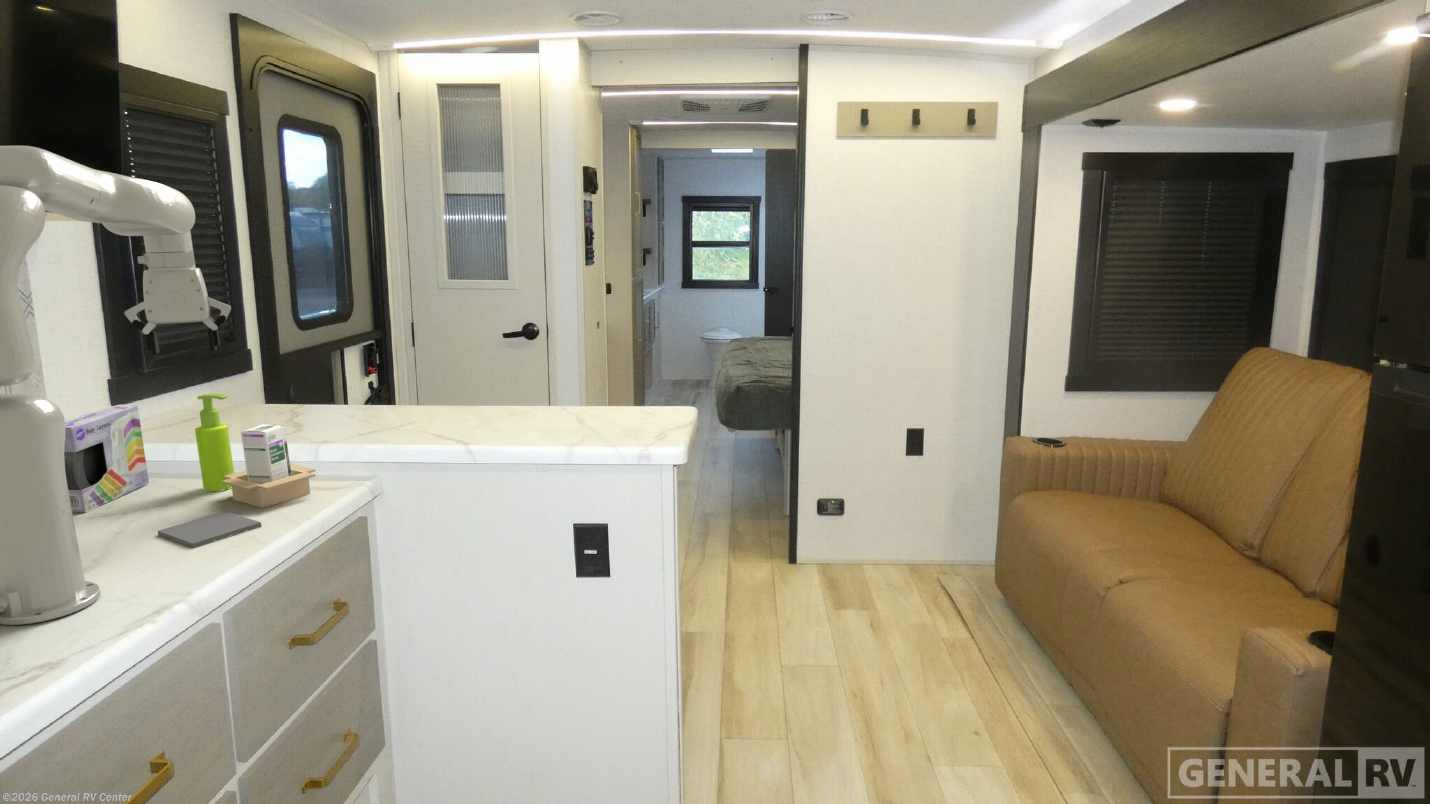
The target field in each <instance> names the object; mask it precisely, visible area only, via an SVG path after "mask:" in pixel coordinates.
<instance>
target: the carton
mask: <svg viewBox="0 0 1430 804" xmlns="http://www.w3.org/2000/svg"><path fill="white" fill-rule="evenodd" d="M290 468H291V475H292V476H290V477H286V478H283V479H279V480H275V481H272V482H268V483H264V484H261V485H260V484H256V483H253V482H249V481H248V476H247V470H246V469H245V470H242V471H239V472H234V474H230V475H226V476H224V478H226V479H228V480H224V481H222V483H224V484H228V485H231V486H232V488H231V491H232V498H233V500H234V499H235V500H234V501H237V500H239V501H238V502H240V503H241V502H242V503H245V504H247V503H248V505H252V506H254V507H258V508H260V509H263V508H266V507H269V506H272V505H277V504H280V503H284V502H286V501H291V500H293V499H296V498H300V497H304V496H306V495H307V496H308V495H310V494H311V487H310V480H309V479H310V478H314V477H316V473H314V472H316V469H314V468H311V467H307V466H303V465H302V466H301V465H299V464H293V463H291V462H290Z"/></svg>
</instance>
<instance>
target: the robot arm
mask: <svg viewBox="0 0 1430 804" xmlns="http://www.w3.org/2000/svg"><path fill="white" fill-rule="evenodd" d="M46 212H50V213H52V214H53V213H54V214H56V215H60V216H63V217H66V218H69V219H73V220H77V221H79V222H80V221H81V222H88V223H97V224H102V226H104V228H105V229H107V230H108V231H109V232H111V233H113V234H115V235H118V236H126V237H127V236H128V237H143V243H144V247H145V248H144V250H145V253H144V255H142V256H137V263H138V264H143V265H146V267H147V268H148V269H145V270H143V276H142V287H143V288H142V289H143V291H142V293H143V301H142V302H140V303H138V304H136V305H135V306H132V307H130V308H128V309H127V310H126V309H125V311H124V313H123V315H124V316H125V317H126V318H127V319H128V321H129V322H130V323H132V326H133V327H134V328H137V329H138V331H140V332H142V333H143V335H145V339H146V347H147V350H148V351H150V352H151V355H152V356H156V355H158V354H159V353H160V351H161V350H160V344H159V339H158V338H159V337H158V333H157V332H155V328H156V327H157V326H158V325H161V324H162V325H165V324H167V325H168V324H185V323H199V322H202V323H203V324H204V325H206V326H207V327H208V331H207V335H208V341H209V348H210V351H211V352H215V351H217V350H218V347H220V346H221V343H220V336H219V328H220V327H221V326H222V325H223V324H224V322H225V321H227V319H228V316H229V314H230V312H231V309H232V306H231V305H229V304H226V303H224V302H221V301H219V300H217V299H214V298H212V297H209V294H208V291H207V286H206V283H205V280H204V276H203V273H202V271H201V268H199V267H196V260H195V253H194V248H193V241H192V233H191V230H192V228H193V227H194V225H195V224H196V223H195V222H196V212H195V208H194V206H193V204H192V202H191V201H190V200H189V198H188V197H187V196H186V195H185V194H184V193H182V192H181V191H179V190H177V189H175V188H172V187H171V186H169V185H165V184H163V183H159V182H156V181H151V180H148V179H143V178H139V177H138V178H137V177H132V176H127V175H123V174H119V173H113V172H110V171H104V170H99V169H94V168H92V167H88V166H86V165H84V164H80V163H79V162H76V161H73V160H71V159H69V158H66V157H64V156H62V155H59V154H57V153H53V152H51V151H49V150H46V149H43V148H40V147H36V146H31V145H0V388H2V387H8V386H14V385H19V384H21V383H23V382H24V381H27V379H29V378H30V377H31V376H32V374H33V372H34V370H35V355H34V348H33V345H32V344H33V343H32V340H31V336H30V332H29V328H28V324H27V320H26V316H25V312H24V308H23V303H22V300H21V295H20V290H19V273H20V269H21V266H22V265H23V261H24V259H25V257H26V256H27V254H28V252H29V251H30V249H31V248H32V247H33V245H34V244H35V243H36V242H37V240H38V239H39V238H40V236H41V234H42V233H43V231H44V228H45V225H46ZM211 307H213V308H215V309H218V310H220V314H219V316H218V318H217V319H214V318H213V317H211V312H212V311H211V310H212V309H211ZM143 310H144V313H145V318H146V320H147V321H148V322H147V323H145V322H144V321H143V320H141V319H139V317H138V315H137V314H138V313H139V312H141V311H143ZM65 422H66V420H65V416H64V413H63V412H62V410H61V409H60V407H59V406H58V405H57V404H56V403H55V402H53V401H52V400H51V399H48V398H46V397H44V396H40V395H36V394H35V395H34V394H25V393H2V394H1V393H0V624H1V625H8V626H9V625H10V626H19V625H20V626H21V625H29V624H31V625H32V624H37V623H42V622H47V621H51V620H54V619H55V620H56V619H59V618H62V617H65V616H69V615H70V614H73V613H76V612H79V611H80V610H82V609H85V608H86V607H89V606H91V605H92V604H93V603H94V602H96V601H97V600H98V599H99V597H100V596H101V589H100V585H99V584H97V583H95V582H92V581H87V580H86V579H85V575H84V570H83V563H82V559H81V553H80V548H79V542H78V536H77V532H76V525H75V521H74V520H75V519H74V515H73V514H74V513H72V508H71V503H70V497H69V492H68V486H67V480H66V473H65V462H64V445H65Z"/></svg>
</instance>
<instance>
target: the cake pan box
mask: <svg viewBox="0 0 1430 804" xmlns="http://www.w3.org/2000/svg"><path fill="white" fill-rule="evenodd" d="M143 440H144V439H143V433H142V426H141V419H140V412H139V407H138V405H134V404H115V405H114V406H111V407H108V408H104V409H102V410H98V411H93V412H90V413H87V414H83V415H80V416H78V417H75V418H73V419H70V420H67V421H66V420H65V445H64V462H65V473H66V480H67V486H68V492H69V497H70V503H71V508H72V514H75V513H76V514H78V513H79V514H82V513H83V514H86V513H88V512H91V511H93V510H95V509H97V508H99V507H101V506H103V505H106V504H108V503H110V502H111V501H114V500H116V499H118V498H120V497H122V496H125V495H126V494H129V493H130V492H133V491H134V490H137V489H139V488H141V487H143V486H145V485H147V484H149V483H150V480H149V475H148V474H149V473H148V468H147V458H146V453H145V447H144V441H143Z"/></svg>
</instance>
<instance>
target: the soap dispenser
mask: <svg viewBox="0 0 1430 804" xmlns="http://www.w3.org/2000/svg"><path fill="white" fill-rule="evenodd" d="M228 397H229V395H226V394H222V393H206V394H201V395H198V396H197V400H202V406H203V409H201V410H200V411H199V416H200V425H201V426H197V427H196V428H194V432H195V439H196V445H197V446H196V447H197V453H198V454H197V455H198V459H199V460H198V461H199V466H200V467H199V468H200V474H201V480H202V488H203V491H204V490H206V491H205V492H207V491H217V492H221V491H220V490H223V489H228V490H230V489H229V488H231V487H232V486H231V485H228V484H224V483H222V481H224V480H228V479H226V478H224V476H226V475H230V474H234V473H235V472H234V471H235V469H234V462H233V455H232V448H231V441H230V435H229V426H228V425H227V424H225V423H221V420H220V418H221V417H220V413H219V409H218V408H216V407H214V403H213V399H216V400H225V399H227V398H228ZM231 489H232V488H231Z"/></svg>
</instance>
